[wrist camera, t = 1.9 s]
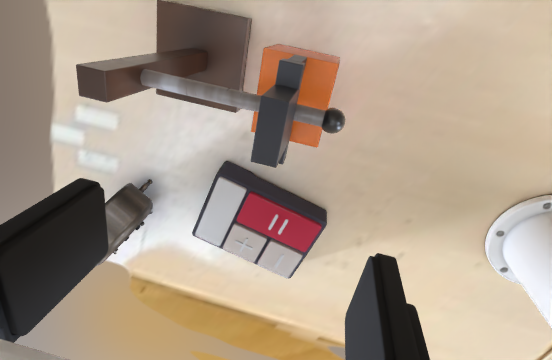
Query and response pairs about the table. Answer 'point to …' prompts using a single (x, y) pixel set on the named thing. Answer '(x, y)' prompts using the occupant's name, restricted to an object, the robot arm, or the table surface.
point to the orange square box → (289, 99)
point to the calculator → (259, 221)
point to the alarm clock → (125, 214)
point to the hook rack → (192, 66)
